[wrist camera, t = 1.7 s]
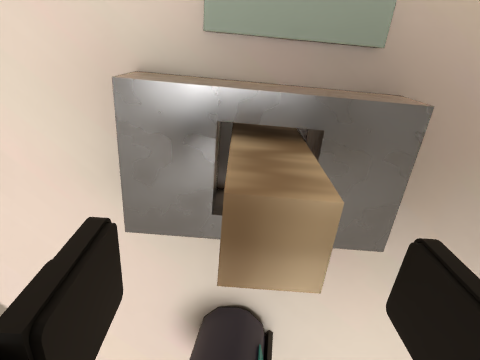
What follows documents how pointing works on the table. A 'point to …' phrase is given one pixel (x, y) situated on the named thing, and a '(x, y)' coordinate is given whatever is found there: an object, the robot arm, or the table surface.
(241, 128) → the peg
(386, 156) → the plate with square hole
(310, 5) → the pad
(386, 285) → the table surface
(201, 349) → the speaker
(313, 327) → the table surface
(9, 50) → the table surface
